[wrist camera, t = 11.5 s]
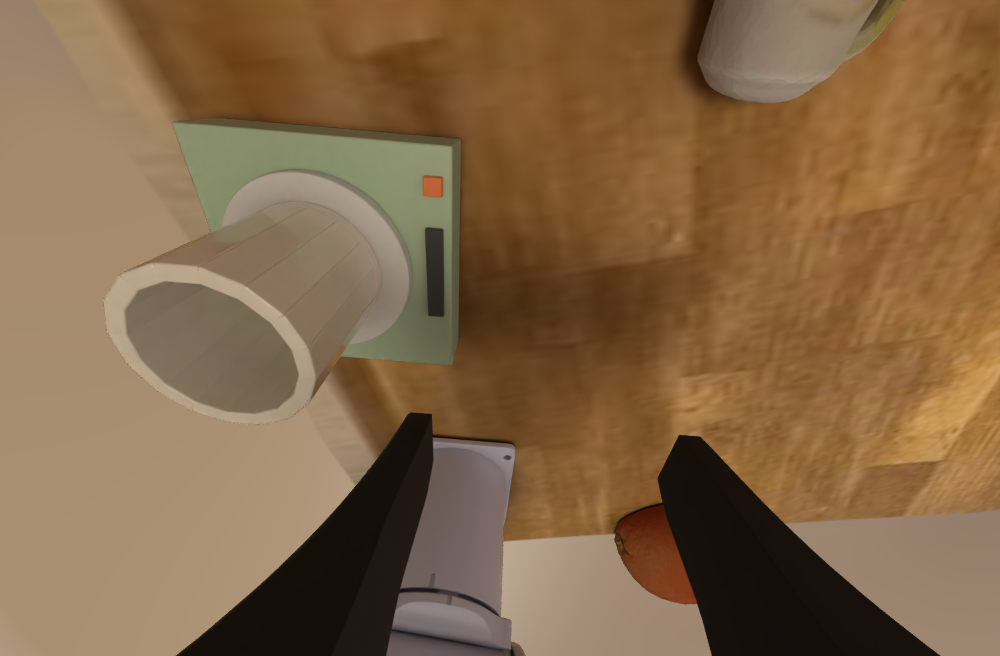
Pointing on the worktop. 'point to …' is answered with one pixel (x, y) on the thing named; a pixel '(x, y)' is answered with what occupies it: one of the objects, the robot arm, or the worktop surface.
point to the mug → (785, 43)
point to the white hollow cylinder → (247, 312)
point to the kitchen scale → (352, 213)
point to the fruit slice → (653, 555)
